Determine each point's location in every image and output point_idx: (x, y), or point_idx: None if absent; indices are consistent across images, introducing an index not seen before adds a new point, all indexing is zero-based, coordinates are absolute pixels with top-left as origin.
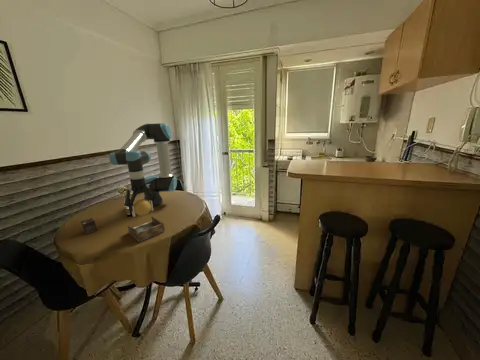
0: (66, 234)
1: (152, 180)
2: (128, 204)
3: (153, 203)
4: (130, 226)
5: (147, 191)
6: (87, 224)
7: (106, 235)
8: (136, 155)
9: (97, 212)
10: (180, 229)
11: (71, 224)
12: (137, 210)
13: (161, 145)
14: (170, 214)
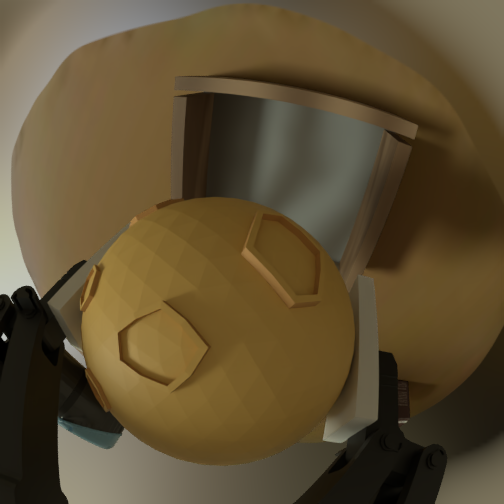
0: (415, 407)
1: (74, 422)
2: (419, 476)
3: (72, 272)
4: (355, 271)
5: None
6: (400, 413)
7: (400, 331)
8: None
9: None
10: (140, 28)
11: None
12: (347, 308)
13: None
14: (104, 228)
